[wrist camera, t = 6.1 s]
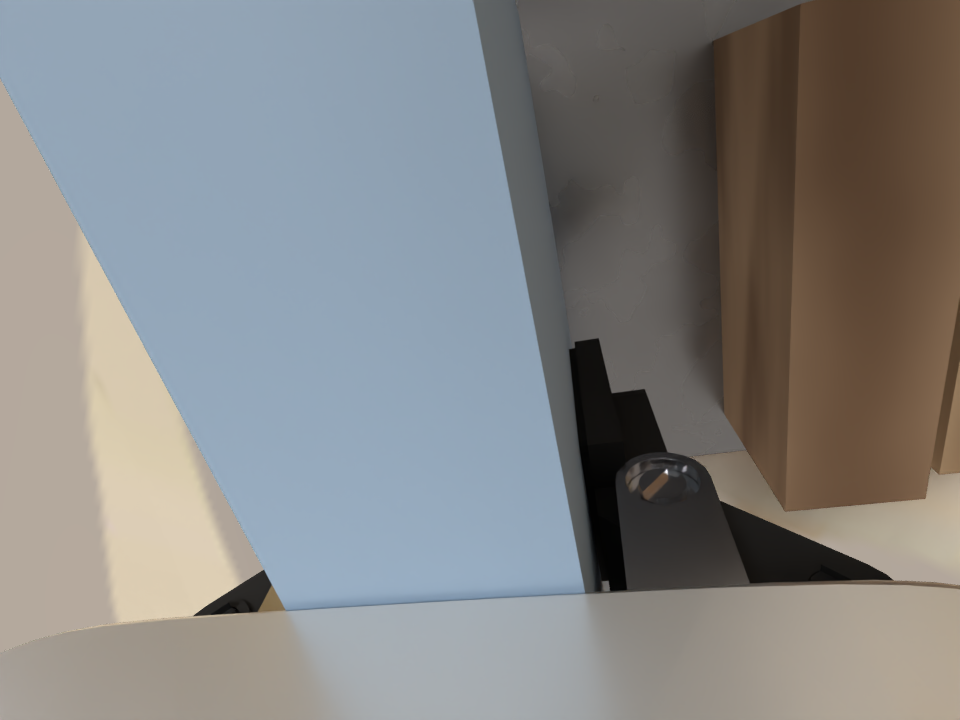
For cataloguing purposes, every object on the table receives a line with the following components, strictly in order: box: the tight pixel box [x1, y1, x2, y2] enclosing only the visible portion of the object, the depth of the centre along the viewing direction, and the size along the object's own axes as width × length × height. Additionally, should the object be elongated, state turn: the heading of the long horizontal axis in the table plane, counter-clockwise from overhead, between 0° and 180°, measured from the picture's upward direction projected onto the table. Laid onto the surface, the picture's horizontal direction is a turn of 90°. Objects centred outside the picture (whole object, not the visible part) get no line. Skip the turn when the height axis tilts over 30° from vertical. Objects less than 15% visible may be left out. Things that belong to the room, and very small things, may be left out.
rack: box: [515, 0, 813, 457], centre depth 15 cm, size 25×21×9 cm
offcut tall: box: [713, 0, 960, 512], centre depth 16 cm, size 4×14×6 cm, turn 12°
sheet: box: [0, 0, 610, 611], centre depth 10 cm, size 2×16×11 cm, turn 12°
